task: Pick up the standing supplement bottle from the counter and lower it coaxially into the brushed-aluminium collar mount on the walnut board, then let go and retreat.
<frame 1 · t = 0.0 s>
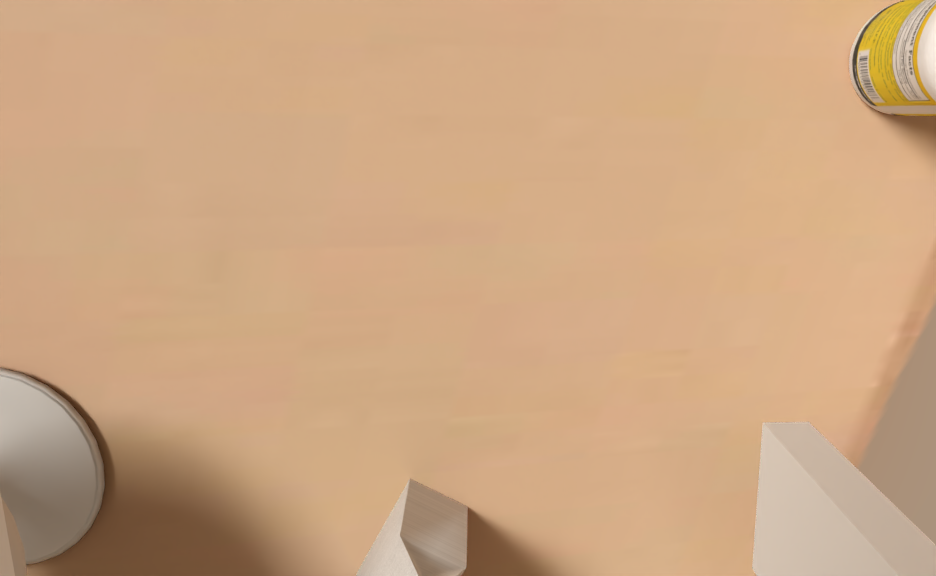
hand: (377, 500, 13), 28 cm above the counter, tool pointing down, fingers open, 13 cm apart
white carton: (412, 537, 45), on the counter
supplement bottle: (898, 58, 39), on the counter
chalice: (2, 464, 44), on the counter
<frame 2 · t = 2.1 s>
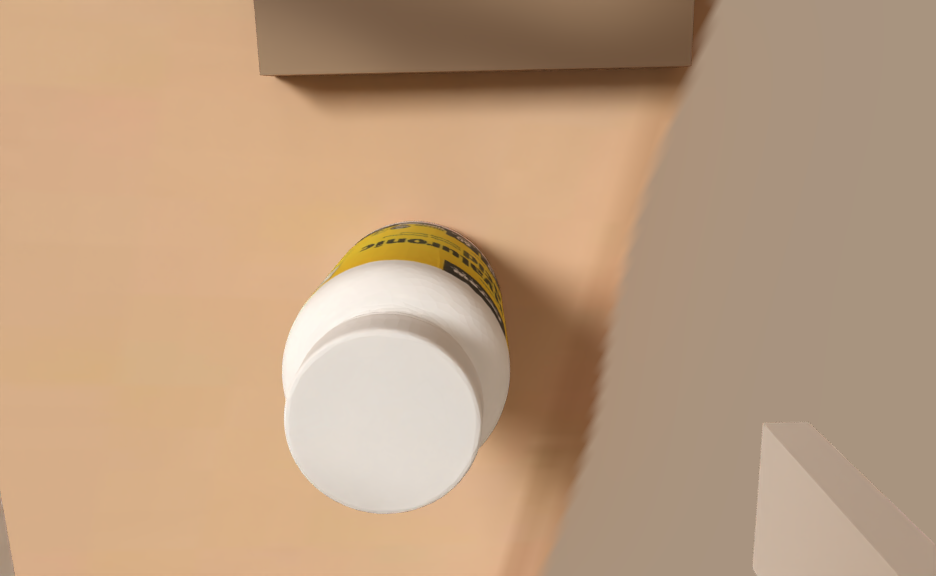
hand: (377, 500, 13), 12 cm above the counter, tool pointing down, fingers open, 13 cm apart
supplement bottle: (416, 298, 25), on the counter
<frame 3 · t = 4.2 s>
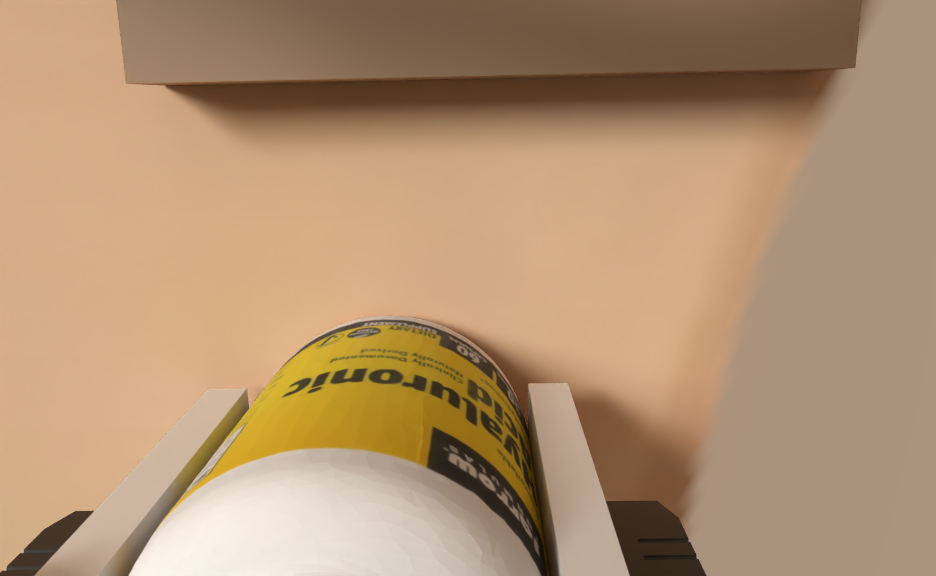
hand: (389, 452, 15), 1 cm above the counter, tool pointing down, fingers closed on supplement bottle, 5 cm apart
supplement bottle: (395, 430, 16), on the counter, touching gripper
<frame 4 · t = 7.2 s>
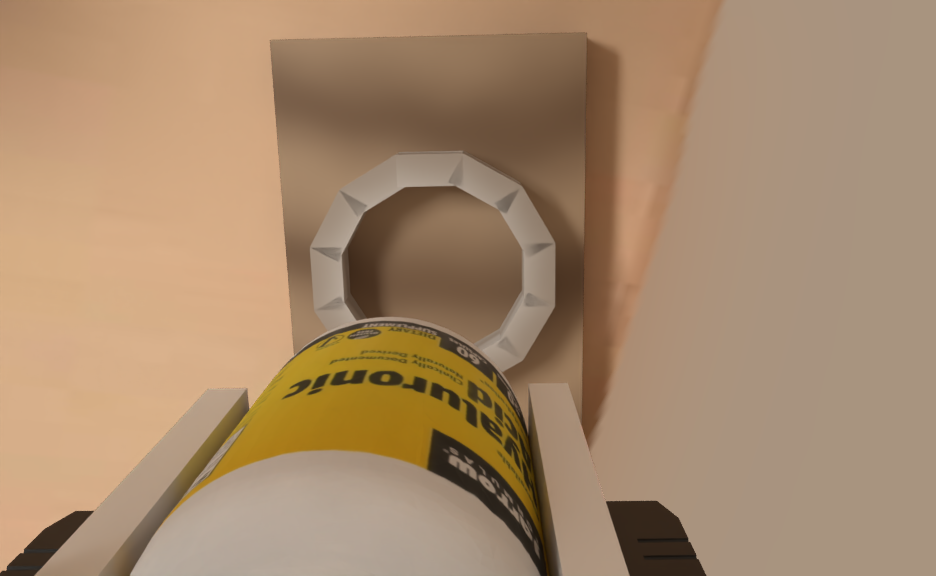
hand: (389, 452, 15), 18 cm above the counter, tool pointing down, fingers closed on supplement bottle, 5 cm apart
mount board: (437, 261, 33), on the counter
supplement bottle: (395, 431, 16), point 17 cm above the counter, touching gripper
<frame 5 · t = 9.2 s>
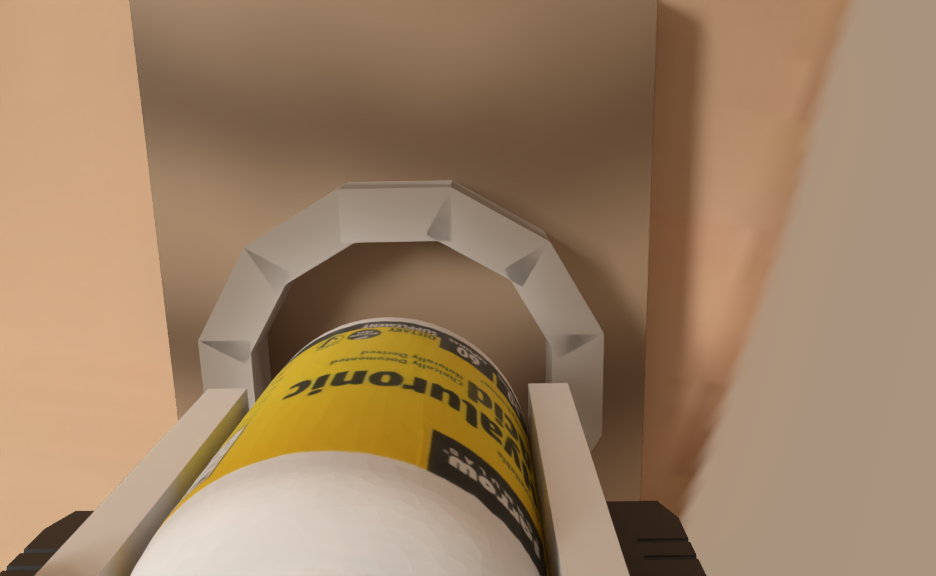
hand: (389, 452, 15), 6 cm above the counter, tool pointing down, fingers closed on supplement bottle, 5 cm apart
mount board: (412, 348, 21), on the counter
supplement bottle: (395, 431, 16), point 5 cm above the counter, touching gripper
when the fingers open (5 cm above the counter, at t = 10.6 s): supplement bottle drops 2 cm, resting on mount board.
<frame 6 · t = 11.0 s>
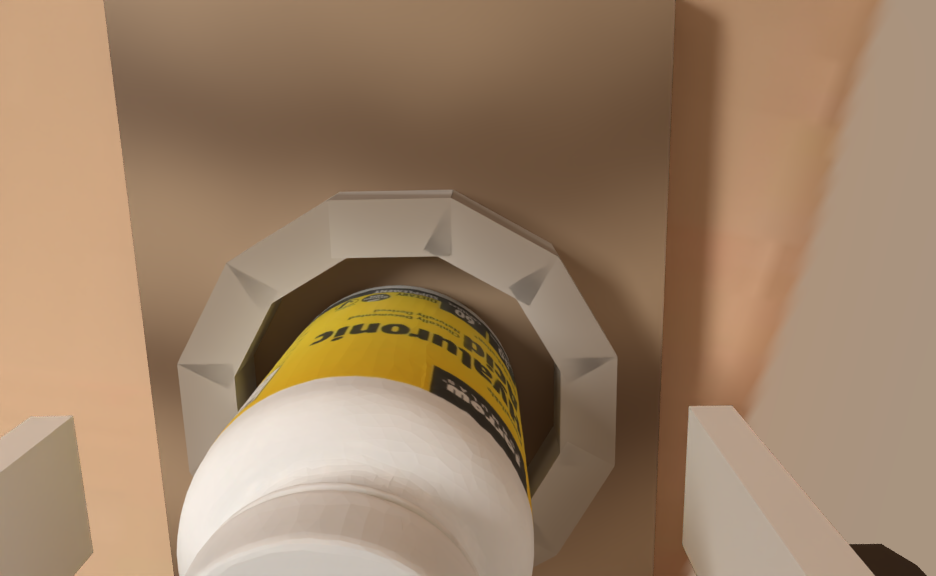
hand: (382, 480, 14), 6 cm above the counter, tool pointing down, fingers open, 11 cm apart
mount board: (410, 369, 20), on the counter
supplement bottle: (401, 386, 19), point 1 cm above the counter, touching mount board
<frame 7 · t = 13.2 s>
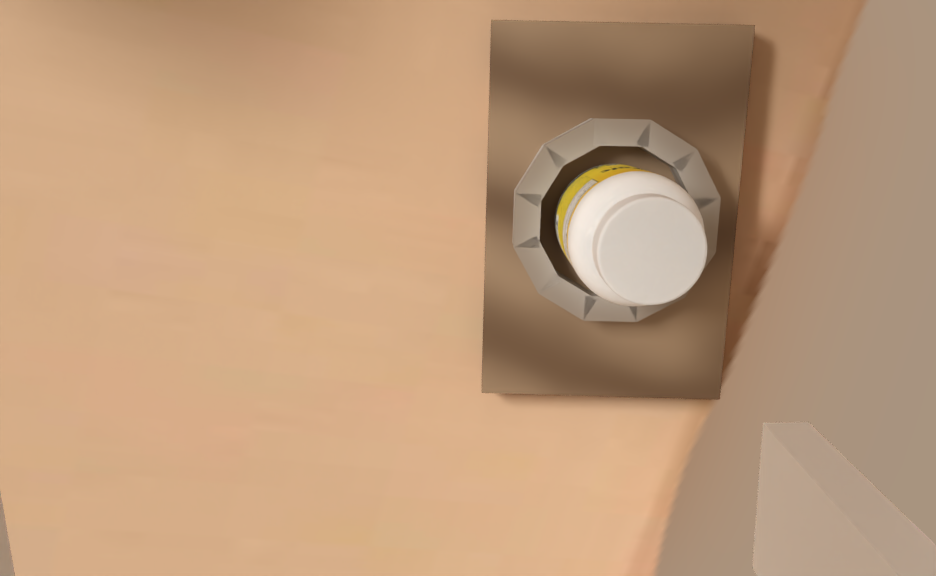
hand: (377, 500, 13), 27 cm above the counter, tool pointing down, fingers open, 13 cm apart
mount board: (606, 215, 39), on the counter
supplement bottle: (608, 217, 38), point 1 cm above the counter, touching mount board
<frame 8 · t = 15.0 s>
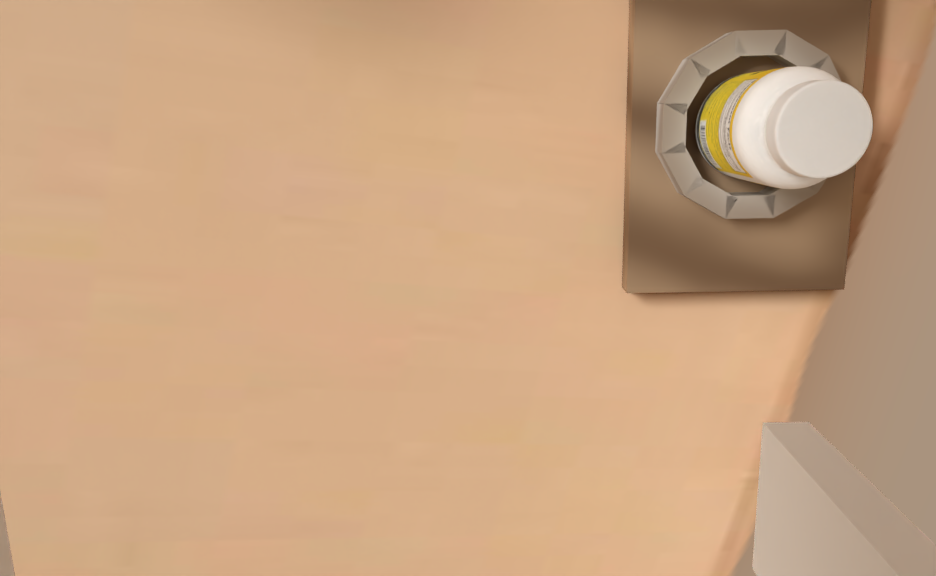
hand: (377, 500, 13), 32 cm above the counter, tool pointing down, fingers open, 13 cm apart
mount board: (736, 125, 43), on the counter
supplement bottle: (742, 125, 41), point 1 cm above the counter, touching mount board
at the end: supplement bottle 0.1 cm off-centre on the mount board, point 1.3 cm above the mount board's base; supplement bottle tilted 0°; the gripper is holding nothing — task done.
